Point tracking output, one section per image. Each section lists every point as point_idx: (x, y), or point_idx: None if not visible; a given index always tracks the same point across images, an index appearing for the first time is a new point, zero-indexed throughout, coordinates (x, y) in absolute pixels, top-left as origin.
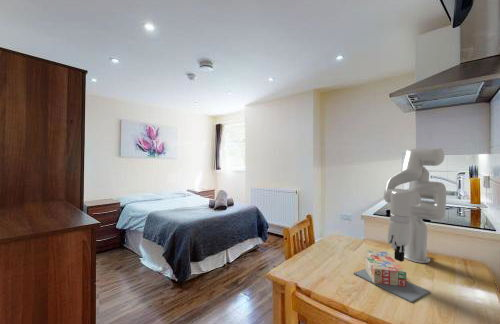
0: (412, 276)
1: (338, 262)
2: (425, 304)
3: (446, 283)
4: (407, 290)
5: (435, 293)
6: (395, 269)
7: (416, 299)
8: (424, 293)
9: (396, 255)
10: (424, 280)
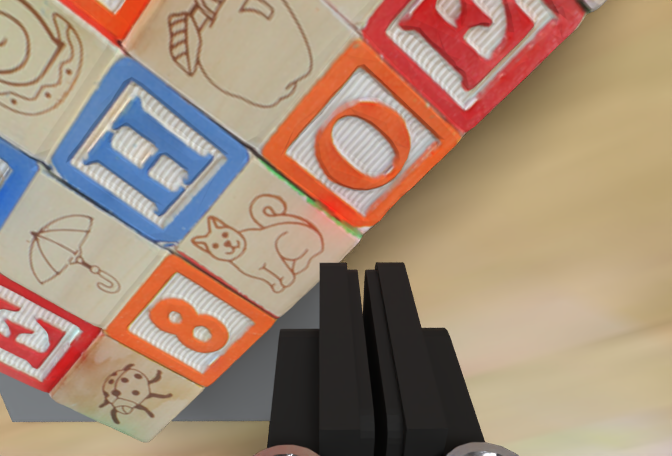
0: (559, 211)
1: None
2: (114, 452)
3: (650, 404)
4: None
5: None
6: (64, 352)
7: None
8: (244, 416)
9: (279, 387)
10: (556, 306)
